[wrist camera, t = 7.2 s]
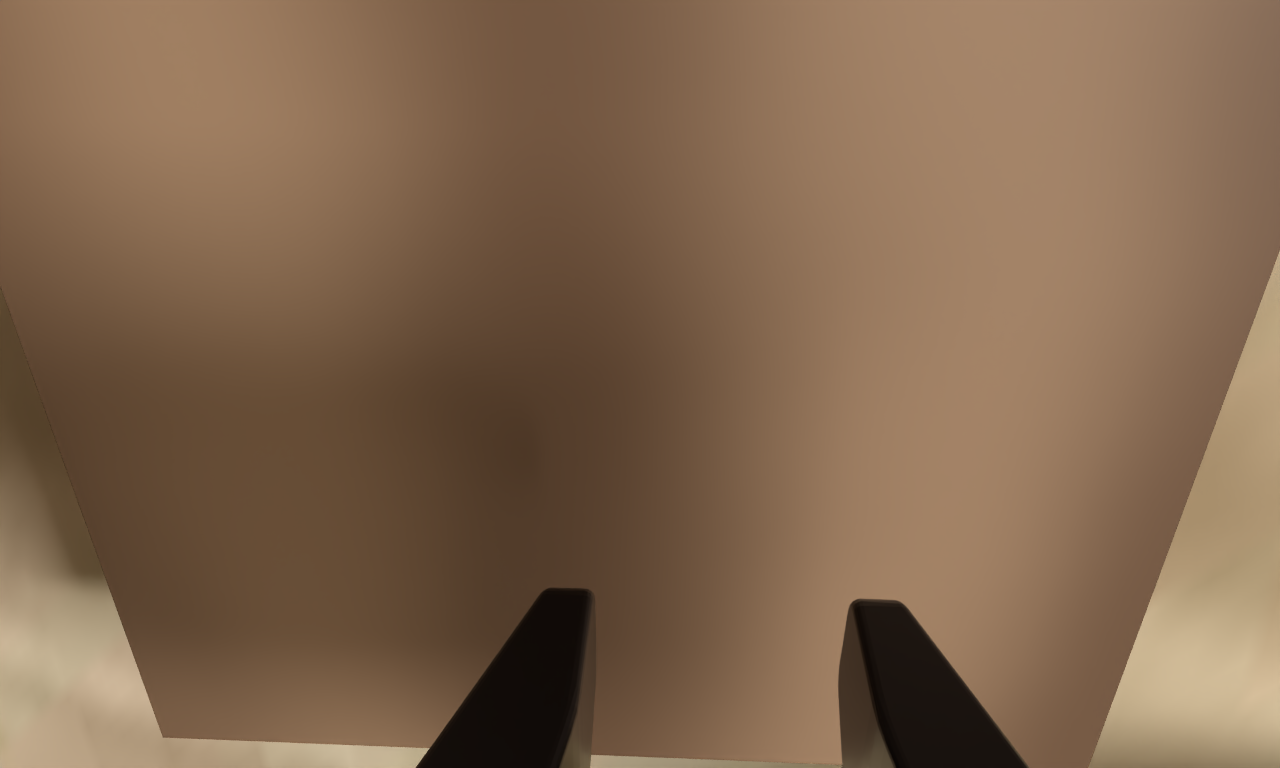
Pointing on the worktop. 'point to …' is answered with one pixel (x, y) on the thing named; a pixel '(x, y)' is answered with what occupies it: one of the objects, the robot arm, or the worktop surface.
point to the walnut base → (633, 341)
